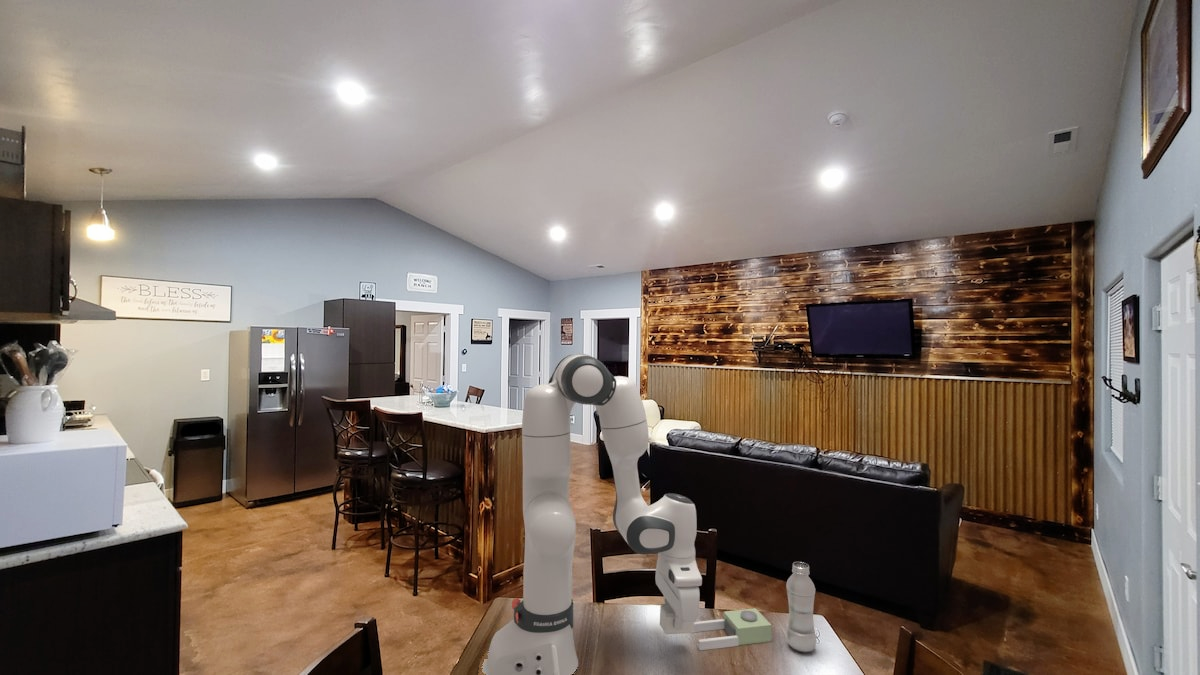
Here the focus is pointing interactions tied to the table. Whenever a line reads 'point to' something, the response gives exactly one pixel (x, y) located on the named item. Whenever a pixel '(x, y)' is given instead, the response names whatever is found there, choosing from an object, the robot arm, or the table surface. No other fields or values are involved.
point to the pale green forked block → (736, 629)
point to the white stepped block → (667, 621)
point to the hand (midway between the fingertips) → (673, 621)
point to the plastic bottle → (801, 609)
